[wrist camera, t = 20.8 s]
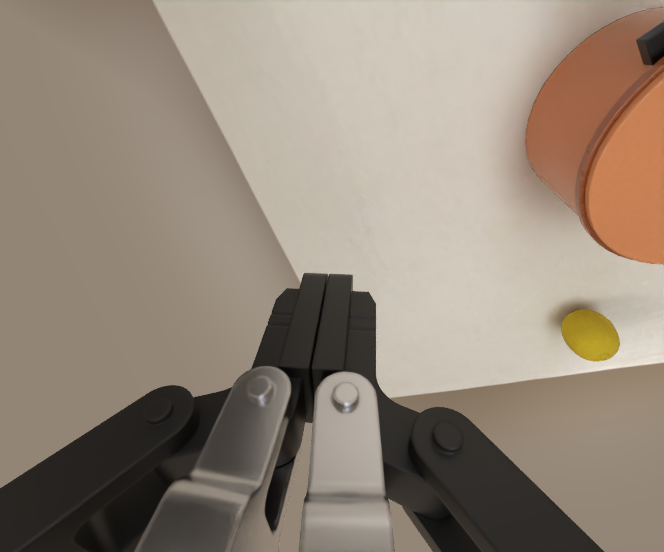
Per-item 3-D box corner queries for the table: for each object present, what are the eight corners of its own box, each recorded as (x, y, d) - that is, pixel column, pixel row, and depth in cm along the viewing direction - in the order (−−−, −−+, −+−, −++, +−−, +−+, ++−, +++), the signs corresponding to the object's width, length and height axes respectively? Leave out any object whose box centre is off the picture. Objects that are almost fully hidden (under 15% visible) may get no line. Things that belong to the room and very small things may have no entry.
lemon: (550, 303, 46) (578, 348, 40) (597, 293, 44) (634, 339, 38) (553, 330, 49) (579, 376, 42) (597, 321, 47) (632, 368, 41)
